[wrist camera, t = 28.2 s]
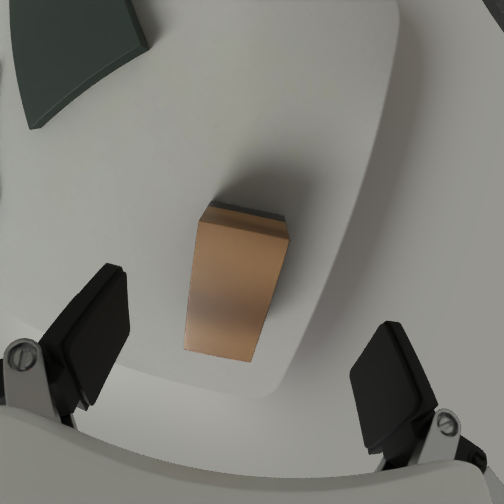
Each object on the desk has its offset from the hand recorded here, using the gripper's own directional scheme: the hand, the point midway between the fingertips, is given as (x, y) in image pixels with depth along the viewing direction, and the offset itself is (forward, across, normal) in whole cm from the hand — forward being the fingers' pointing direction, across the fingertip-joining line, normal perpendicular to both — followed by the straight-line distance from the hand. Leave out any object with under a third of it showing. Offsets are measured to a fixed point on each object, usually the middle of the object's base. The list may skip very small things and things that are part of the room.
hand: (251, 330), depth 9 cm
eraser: (+10, +1, +4) cm, 11 cm away
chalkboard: (+11, +21, -18) cm, 29 cm away
